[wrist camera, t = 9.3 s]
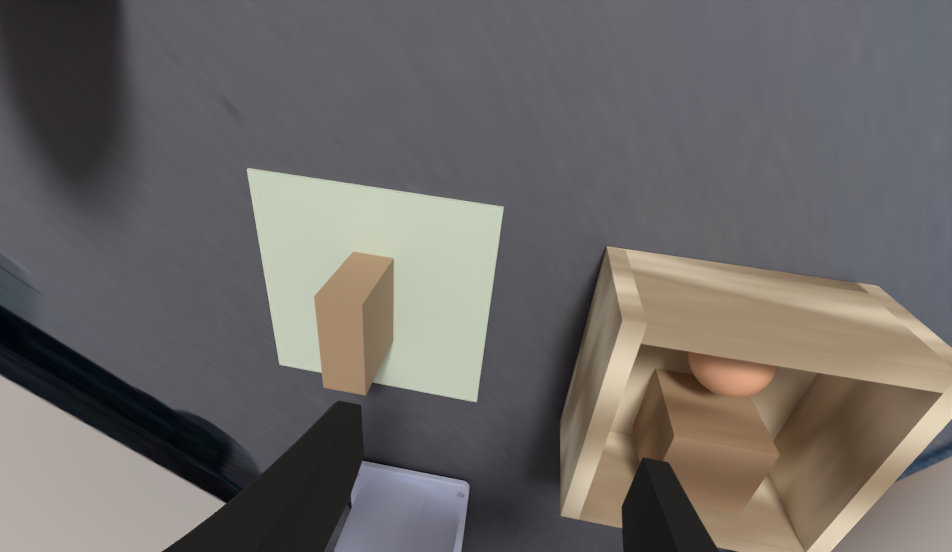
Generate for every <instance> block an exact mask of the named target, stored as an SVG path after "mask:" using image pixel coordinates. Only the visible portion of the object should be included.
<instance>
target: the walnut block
mask: <svg viewBox="0 0 952 552" xmlns="http://www.w3.org/2000/svg"><path fill="white" fill-rule="evenodd" d="M633 428H634V434H635V439H636V445H637V450H638V456H639V461H640V462H641V460H642V458H643V457H644V458H649V459H654V460H660V461H665V462H668V463H669V464H670V465H671V467H672V469H673V471H674V472H675V474H676V476H677V478H678V480H679V482H680V483H681V485H682V487H683V489H684V491H685V493H686V494H687V496H688V498H689V500H690V502H691V503H692V505H693V506H696V507H701V508H706V509H711V510H716V511H722V512H727V513H732V514H737V515H740V514H741V513H742V511H743V510H744V508H745V507H746V505H747V504H748V502H749V501H750V499H751V498H752V496H753V495H754V493H755V492H756V490H757V489H758V487H759V486H760V484H761V483H762V481H763V480H764V478H765V477H766V475H767V474H768V472H769V471H770V469H771V468H772V467H773V465H774V464H775V462H776V461H777V459H778V458H779V456H780V454H779V452H778V450H777V448H776V446H775V444H774V442H773V440H772V438H771V436H770V434H769V432H768V430H767V428H766V426H765V424H764V422H763V420H762V419H761V417H760V415H759V413H758V411H757V409H756V407H755V405H754V403H753V401H752V399H751V397H750V396H747V397H740V398H733V397H726V396H722V395H719V394H716V393H714V392H712V391H710V390H709V389H707V388H706V387H704V386H703V385H702V384H701V383H700V382H699V381H698V380H697V379H696V377H695V376H694V375H693V374H687V373H681V372H675V371H669V370H663V369H657V368H655V371H654V374H653V376H652V379H651V381H650V384H649V386H648V389H647V392H646V394H645V397H644V399H643V402H642V404H641V407H640V410H639V412H638V415H637V417H636V420H635V422H634V425H633Z"/></svg>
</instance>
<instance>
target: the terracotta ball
mask: <svg viewBox="0 0 952 552" xmlns="http://www.w3.org/2000/svg"><path fill="white" fill-rule="evenodd" d="M688 363H689V366H690V369H691V371H692V373H693V374H694V376H695V377H696V379H697V380H698V381H699V382H700V383H701V384H702V385H703V386H704V387H706V388H707V389H709V390H710V391H712V392H714V393H716V394H719V395H722V396H726V397H733V398H740V397H747V396H751V395H754V394H756V393H758V392H760V391H761V390H763V389H764V388H765V387H767V386H768V385H769V383H770V382H771V381H772V379H773V378H774V376H775V373H776V370H777V366H774V365H768V364H762V363H756V362H750V361H743V360H737V359H731V358H725V357H719V356H713V355H707V354H701V353H695V352H689V351H688Z"/></svg>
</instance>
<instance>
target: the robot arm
mask: <svg viewBox="0 0 952 552" xmlns="http://www.w3.org/2000/svg"><path fill="white" fill-rule="evenodd" d="M363 458H364V448H363V433H362V417H361V405H358V404H353V403H348V402H342V401H337V402H336V403H334V404H333V405H332V406H331V407H330V408H329V409H328V411H327V412H326V413H325V414H324V415H323V416H322V417H321V418H320V419H319V420H318V421H317V422H316V423H315V424H314V425H313V426H312V427H311V428H310V429H309V430H308V431H307V432H306V433H305V434H304V435H303V436H302V437H301V438H300V439H299V440H298V441H297V442H296V443H295V444H294V445H292V446H291V447H290V448H289V449H288V450H287V451H286V452H285V453H284V454H283V455H282V456H281V457H280V458H279V459H277V460H276V461H275V462H274V463H273V464H272V465H271V466H270V467H269V468H268V469H267V470H265V471H264V472H263V473H262V474H261V475H260V476H259V477H257V478H256V479H255V480H254V481H253V482H252V483H250V484H249V485H248V486H247V487H246V488H245V489H243V490H242V491H241V492H240V493H239V494H238V495H236V496H235V497H234V498H233V499H232V500H230V501H229V502H228V503H227V504H225V505H224V506H223V507H222V508H221V509H219V510H218V511H217V512H215V513H214V514H213V515H212V516H210V517H209V518H208V519H206V520H205V521H204V522H202V523H201V524H200V525H198V526H197V527H196V528H194V529H193V530H192V531H190V532H189V533H188V534H186V535H185V536H184V537H182V538H181V539H179V540H178V541H176V542H175V543H174V544H172V545H171V546H169V547H168V548H167V549H165V550H164V551H162V552H324V550H325V548H326V546H327V544H328V542H329V540H330V537H331V535H332V533H333V531H334V529H335V527H336V525H337V523H338V521H339V518H340V516H341V514H342V512H343V510H344V508H345V506H346V504H347V501H348V499H349V497H350V495H351V502H352V508H351V511H350V513H349V516H348V518H347V520H346V523H345V525H344V528H343V530H342V532H341V535H340V537H339V540H338V542H337V544H336V547H335V549H334V552H461V551H462V543H463V536H464V528H465V520H466V513H467V505H468V497H469V489H470V485H469V484H468V483H467V482H466V481H463V480H458V479H453V478H448V477H443V476H438V475H433V474H428V473H423V472H417V471H412V470H407V469H402V468H397V467H392V466H387V465H382V464H377V463H372V462H367V461H363ZM621 508H622V532H623V549H624V552H720V551H719V550H718V548H717V546H716V545H715V543H714V541H713V540H712V538H711V536H710V535H709V533H708V531H707V530H706V528H705V526H704V525H703V523H702V521H701V519H700V518H699V516H698V514H697V512H696V511H695V509H694V507H693V505H692V503H691V502H690V500H689V498H688V496H687V494H686V493H685V491H684V489H683V487H682V485H681V483H680V482H679V480H678V478H677V476H676V474H675V472H674V471H673V469H672V467H671V465H670V464H669V463H668V462H665V461H660V460H654V459H649V458H644V457H643V458H642V460H641V462H640V465H639V467H638V469H637V472H636V474H635V476H634V479H633V481H632V483H631V486H630V488H629V490H628V493H627V495H626V497H625V500H624V502H623V504H622V507H621Z"/></svg>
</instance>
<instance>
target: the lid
mask: <svg viewBox="0 0 952 552" xmlns="http://www.w3.org/2000/svg"><path fill="white" fill-rule="evenodd" d="M247 173H248V179H249V185H250V191H251V197H252V203H253V209H254V215H255V221H256V227H257V233H258V239H259V245H260V251H261V257H262V263H263V269H264V275H265V281H266V287H267V293H268V299H269V305H270V311H271V317H272V323H273V329H274V335H275V341H276V347H277V353H278V359H279V365H284V366H289V367H294V368H300V369H305V370H310V371H315V372H321V373H322V378H323V387H324V388H329V389H334V390H340V391H345V392H350V393H355V394H360V395H365V396H366V394H367V392H368V390H369V388H370V386H371V384H372V382H373V383H378V384H384V385H389V386H394V387H399V388H405V389H410V390H415V391H420V392H426V393H431V394H436V395H441V396H447V397H452V398H457V399H462V400H468V401H473V402H477V396H478V389H479V382H480V375H481V368H482V360H483V353H484V346H485V339H486V332H487V324H488V317H489V310H490V303H491V296H492V289H493V281H494V274H495V267H496V260H497V253H498V245H499V238H500V231H501V224H502V217H503V209H504V207H502V206H495V205H488V204H482V203H475V202H469V201H462V200H455V199H449V198H442V197H436V196H429V195H422V194H416V193H409V192H403V191H396V190H389V189H383V188H376V187H370V186H363V185H357V184H350V183H343V182H337V181H330V180H324V179H317V178H310V177H304V176H297V175H291V174H284V173H277V172H271V171H264V170H258V169H251V168H248V169H247Z"/></svg>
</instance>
